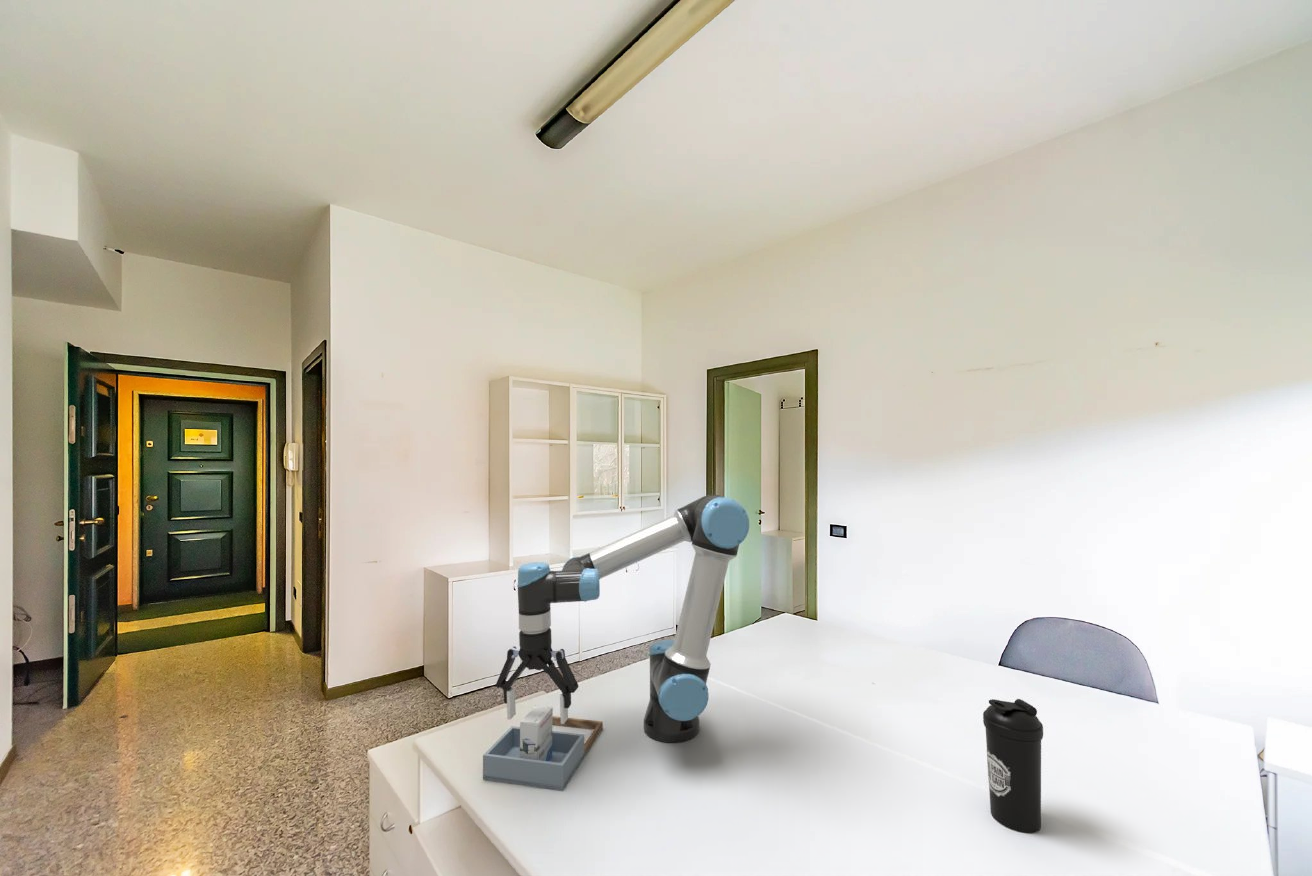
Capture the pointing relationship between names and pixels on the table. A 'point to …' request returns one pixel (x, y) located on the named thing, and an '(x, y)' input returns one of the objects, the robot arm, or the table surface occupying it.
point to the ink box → (536, 734)
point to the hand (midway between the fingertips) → (537, 719)
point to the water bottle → (1014, 764)
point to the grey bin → (534, 761)
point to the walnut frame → (582, 724)
